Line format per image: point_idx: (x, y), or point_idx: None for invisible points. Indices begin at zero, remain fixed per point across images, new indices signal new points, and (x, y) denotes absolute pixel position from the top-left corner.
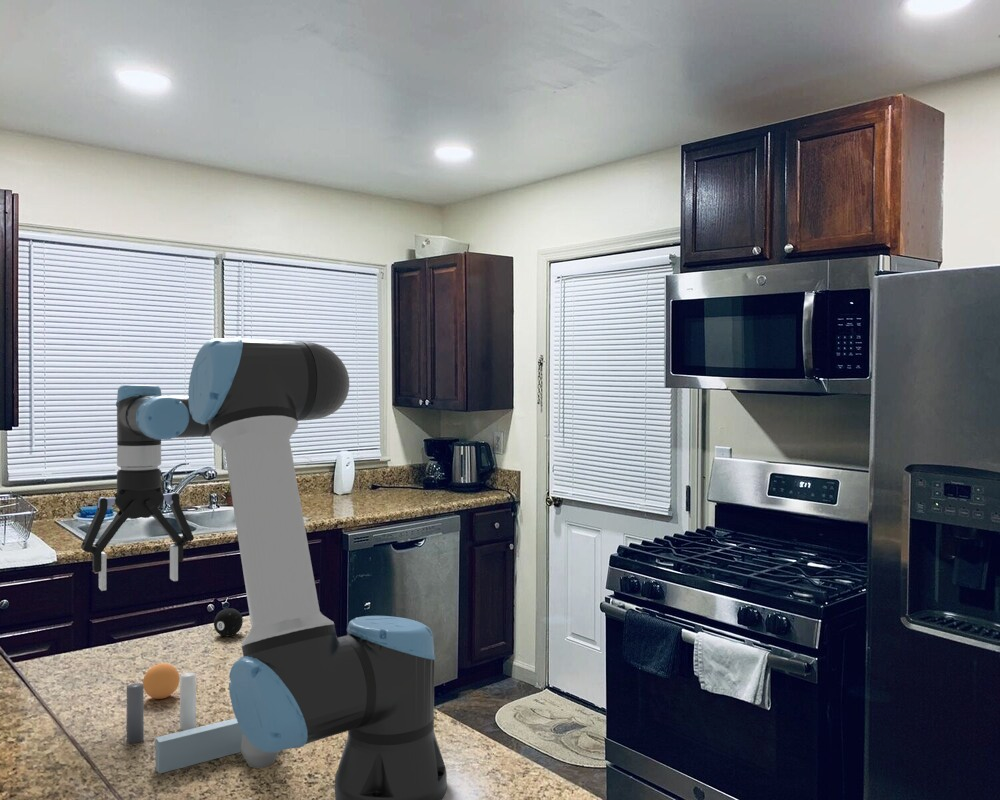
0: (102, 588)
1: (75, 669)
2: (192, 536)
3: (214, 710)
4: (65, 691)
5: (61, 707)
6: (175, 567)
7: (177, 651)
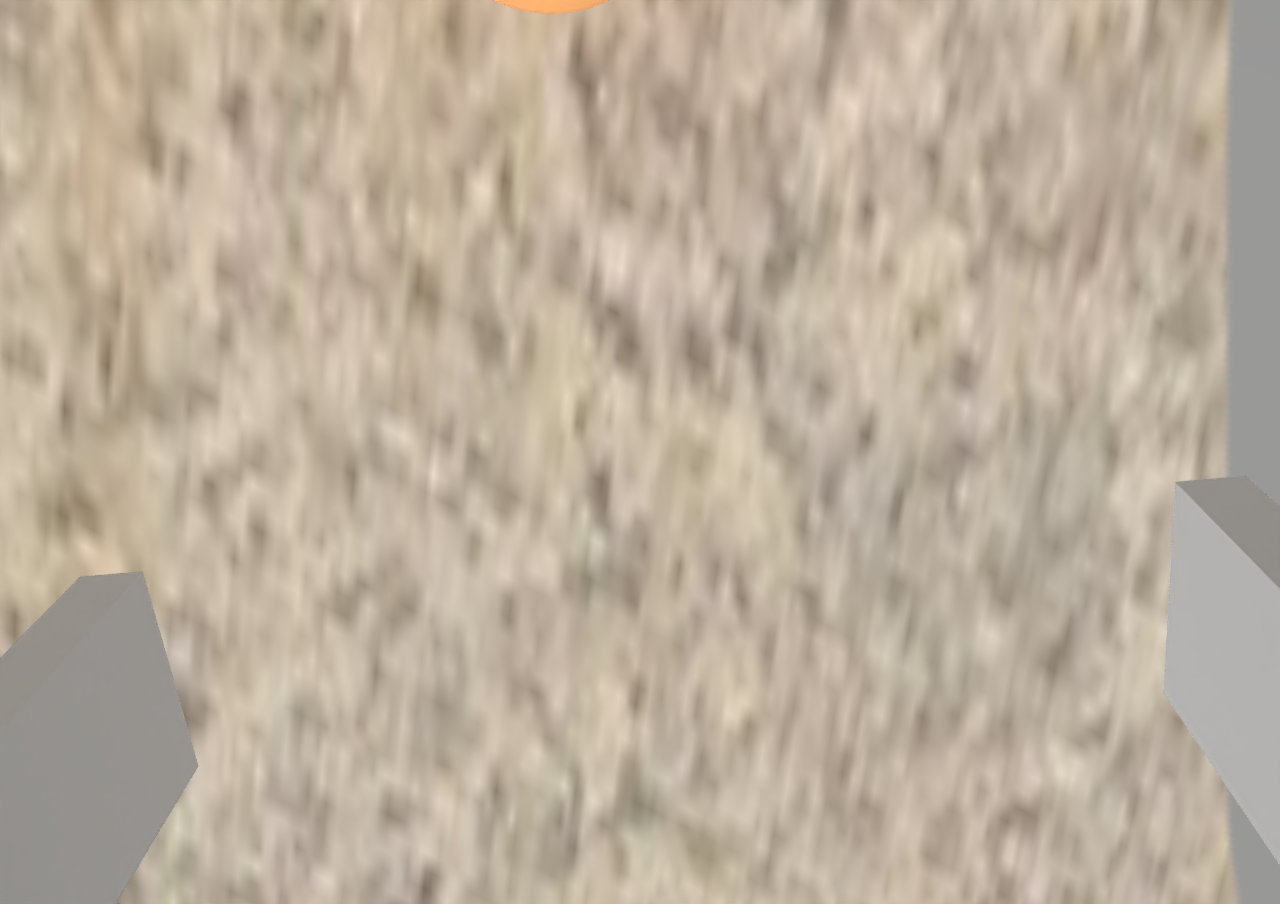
0: (1249, 495)
1: (981, 762)
2: None
3: None
4: (1115, 378)
5: (1205, 58)
6: (4, 700)
7: (360, 795)
